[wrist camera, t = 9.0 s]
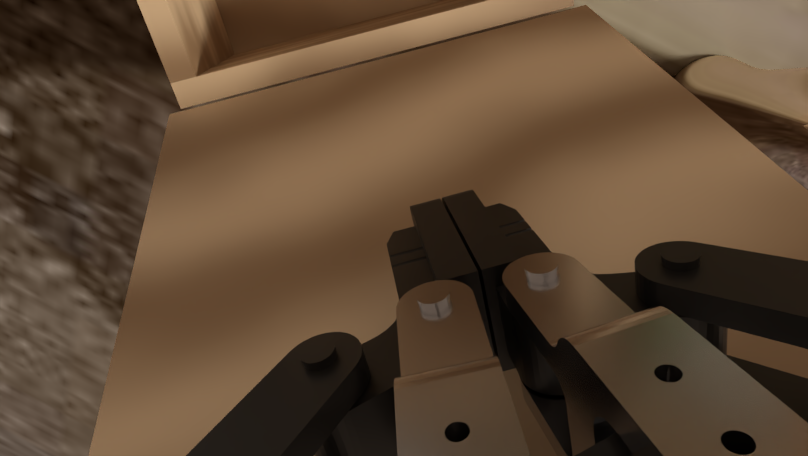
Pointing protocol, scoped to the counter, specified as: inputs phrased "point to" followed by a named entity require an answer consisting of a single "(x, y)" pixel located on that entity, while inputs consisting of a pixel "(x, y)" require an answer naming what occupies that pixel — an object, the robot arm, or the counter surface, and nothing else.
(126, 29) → the counter surface
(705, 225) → the wooden box lid
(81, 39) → the counter surface
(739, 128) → the beer glass
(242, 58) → the wooden box
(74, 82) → the counter surface
